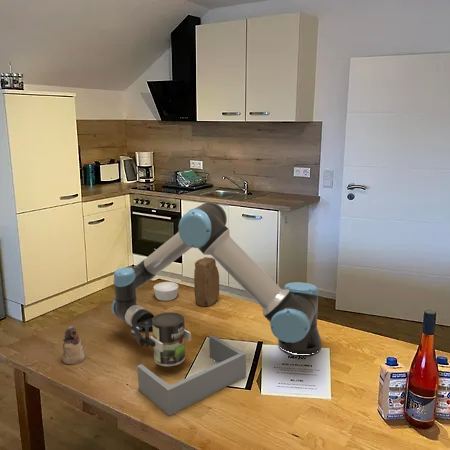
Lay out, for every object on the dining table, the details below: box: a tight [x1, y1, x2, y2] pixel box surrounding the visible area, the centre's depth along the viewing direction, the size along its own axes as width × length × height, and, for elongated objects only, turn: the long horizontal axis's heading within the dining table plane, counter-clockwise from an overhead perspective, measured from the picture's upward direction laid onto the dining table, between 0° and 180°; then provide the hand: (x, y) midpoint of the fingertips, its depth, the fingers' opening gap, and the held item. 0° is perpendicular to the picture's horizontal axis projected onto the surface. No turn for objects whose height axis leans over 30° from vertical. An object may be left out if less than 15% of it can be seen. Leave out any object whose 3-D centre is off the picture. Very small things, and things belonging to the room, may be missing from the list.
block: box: [193, 256, 220, 307], centre depth 199 cm, size 11×8×20 cm
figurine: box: [62, 325, 86, 365], centre depth 156 cm, size 7×7×12 cm
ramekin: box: [153, 281, 179, 302], centre depth 208 cm, size 11×11×5 cm
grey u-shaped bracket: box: [136, 334, 247, 417], centre depth 142 cm, size 16×29×8 cm, turn 131°
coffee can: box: [152, 311, 186, 367], centre depth 149 cm, size 10×10×14 cm
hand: (176, 342), depth 146 cm, fingers closed on coffee can, 10 cm apart
